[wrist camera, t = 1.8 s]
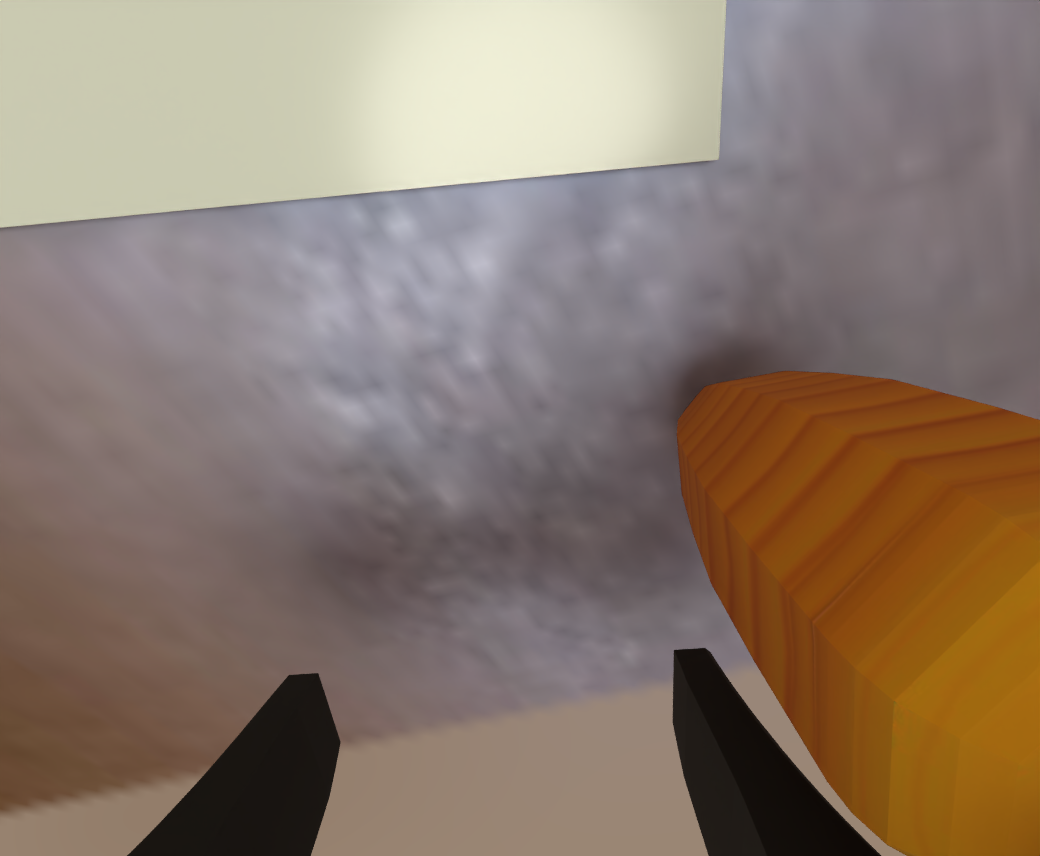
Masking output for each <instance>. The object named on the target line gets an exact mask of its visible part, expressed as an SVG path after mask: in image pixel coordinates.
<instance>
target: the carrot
mask: <svg viewBox="0 0 1040 856" xmlns="http://www.w3.org/2000/svg"><path fill="white" fill-rule="evenodd" d="M677 443H678V455H679V467H680V478H681V490H682V496H683V499H684V503H685V507H686V510H687V514H688V517H689V521H690V524H691V528H692V531H693V535H694V537H695V540H696V543H697V546H698V548H699V551H700V554H701V557H702V559H703V562H704V565H705V568H706V571H707V573H708V576H709V579H710V582H711V584H712V586H713V588H714V590H715V591H716V593H717V595H718V597H719V599H720V600H721V602H722V604H723V606H724V608H725V609H726V611H727V613H728V615H729V617H730V618H731V620H732V622H733V624H734V626H735V627H736V629H737V631H738V633H739V635H740V636H741V638H742V640H743V642H744V644H745V645H746V647H747V649H748V651H749V653H750V654H751V656H752V658H753V660H754V662H755V663H756V665H757V667H758V668H759V670H760V671H761V673H762V675H763V676H764V678H765V679H766V681H767V683H768V685H769V686H770V688H771V690H772V691H773V693H774V694H775V696H776V698H777V699H778V701H779V703H780V704H781V706H782V708H783V709H784V711H785V713H786V714H787V716H788V718H789V719H790V721H791V723H792V724H793V726H794V728H795V729H796V731H797V732H798V734H799V736H800V737H801V739H802V741H803V742H804V744H805V746H806V747H807V749H808V751H809V752H810V754H811V756H812V757H813V759H814V760H815V762H816V764H817V765H818V767H819V769H820V770H821V772H822V773H823V775H824V777H825V779H826V780H827V782H828V783H829V784H830V786H831V787H832V788H833V790H834V791H835V792H836V793H837V795H838V796H839V797H840V798H841V800H842V801H843V802H844V803H845V805H846V806H847V807H848V809H849V810H850V811H851V812H852V813H853V814H854V815H855V816H856V817H857V818H858V819H859V820H860V821H861V822H862V823H864V824H865V825H866V826H867V827H868V828H869V829H870V830H871V831H872V832H873V833H875V834H876V835H877V836H878V837H879V838H880V839H881V840H882V841H883V842H884V843H886V844H887V845H888V846H890V847H892V848H894V849H896V850H898V851H899V852H901V853H903V854H905V855H907V856H1040V420H1038V419H1034V418H1031V417H1028V416H1024V415H1021V414H1018V413H1014V412H1011V411H1008V410H1005V409H1001V408H998V407H994V406H991V405H987V404H983V403H979V402H976V401H972V400H968V399H964V398H960V397H957V396H953V395H949V394H945V393H942V392H938V391H934V390H930V389H926V388H923V387H919V386H915V385H911V384H908V383H904V382H900V381H896V380H892V379H883V378H874V377H865V376H855V375H846V374H837V373H821V372H798V371H781V372H776V373H770V374H765V375H759V376H754V377H748V378H743V379H737V380H732V381H726V382H721V383H716V384H712V385H708V386H705V387H704V388H703V389H702V390H701V391H700V392H699V394H698V395H697V396H696V397H695V398H694V400H693V401H692V402H691V403H690V405H689V406H688V407H687V408H686V409H685V411H684V412H683V414H682V415H681V416H680V418H679V419H678V426H677Z"/></svg>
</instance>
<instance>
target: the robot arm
mask: <svg viewBox="0 0 1040 856" xmlns="http://www.w3.org/2000/svg"><path fill="white" fill-rule="evenodd" d="M673 725H674V731H675V736H676V741H677V746H678V751H679V755H680V760H681V765H682V769H683V774H684V778H685V781H686V785H687V788H688V791H689V794H690V798H691V801H692V804H693V807H694V810H695V813H696V817H697V820H698V823H699V826H700V830H701V833H702V836H703V839H704V842H705V846H706V849H707V852H708V855H709V856H881V855H880V854H879V853H878V852H877V851H876V850H875V849H874V848H873V847H872V846H871V845H870V844H869V843H868V842H867V841H866V840H865V839H864V838H863V837H862V836H861V835H860V834H859V833H858V832H857V831H856V830H855V829H854V828H853V827H852V826H851V825H850V824H849V823H848V822H847V821H845V819H844V818H843V817H842V816H841V815H840V814H839V813H838V812H837V811H836V810H835V809H834V808H833V807H832V805H831V804H830V803H829V802H828V801H827V800H826V799H825V798H824V797H823V796H822V795H821V794H820V793H819V792H818V790H817V789H816V788H815V787H814V786H813V785H812V784H811V782H810V781H809V780H808V779H807V778H806V777H805V776H804V775H803V773H802V772H801V771H800V770H799V769H798V768H797V767H796V765H795V764H794V763H793V762H792V761H791V759H790V758H789V757H788V756H787V755H786V754H785V752H784V751H783V750H782V749H781V748H780V746H779V745H778V744H777V743H776V741H775V740H774V739H773V738H772V736H771V735H770V734H769V733H768V731H767V730H766V729H765V728H764V726H763V725H762V724H761V723H760V721H759V720H758V719H757V718H756V716H755V715H754V714H753V713H752V711H751V710H750V708H748V706H747V705H746V703H745V702H744V700H743V699H742V698H741V696H740V695H739V694H738V692H737V691H736V689H735V688H734V687H733V685H732V684H731V682H730V681H729V680H728V678H727V677H726V675H725V674H724V672H723V671H722V669H721V668H720V666H719V665H718V663H717V662H716V660H715V659H714V657H713V656H712V654H711V652H709V651H708V650H707V649H706V648H698V649H682V650H674V678H673ZM339 747H340V739H339V736H338V733H337V730H336V727H335V724H334V721H333V717H332V714H331V711H330V708H329V705H328V702H327V699H326V696H325V693H324V690H323V687H322V684H321V680H320V677H319V674H318V673H314V674H299V675H289V676H288V677H287V678H286V679H285V680H284V682H283V683H282V684H281V685H280V686H279V687H278V689H277V690H276V691H275V692H274V693H273V694H272V696H271V697H270V698H269V699H268V700H267V702H266V703H265V704H264V705H263V706H262V708H261V709H260V710H259V711H258V712H257V714H256V715H255V716H254V717H253V718H252V720H251V721H250V722H249V723H248V724H247V726H246V727H245V728H244V729H243V730H242V732H241V733H240V734H239V735H238V736H237V738H236V739H235V740H234V741H233V742H232V743H231V745H230V746H229V747H228V748H227V749H226V750H225V751H224V753H223V754H222V755H221V756H220V757H219V758H218V760H217V761H216V762H215V763H214V764H213V765H212V767H211V768H210V769H209V770H208V771H207V772H206V773H205V775H204V776H203V777H202V778H201V779H200V780H199V781H198V782H197V784H196V785H195V786H194V787H193V788H192V789H191V790H190V791H189V792H188V793H187V795H185V796H184V798H183V799H182V800H181V801H180V802H179V803H178V804H177V805H176V806H175V807H174V808H173V809H172V811H171V812H170V813H169V814H168V815H167V816H166V817H165V818H164V819H163V820H162V821H161V822H160V823H159V824H158V825H157V826H156V827H155V828H154V830H152V831H151V833H150V834H149V835H148V836H147V837H146V838H145V839H144V840H143V841H142V842H141V843H140V844H139V845H138V846H137V847H136V848H135V849H134V850H133V851H132V852H131V853H130V854H128V855H127V856H311V853H312V850H313V847H314V844H315V841H316V838H317V834H318V831H319V828H320V825H321V822H322V818H323V816H324V812H325V809H326V806H327V803H328V800H329V796H330V792H331V787H332V782H333V777H334V773H335V768H336V762H337V758H338V753H339Z"/></svg>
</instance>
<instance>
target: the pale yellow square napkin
mask: <svg viewBox="0 0 1040 856" xmlns="http://www.w3.org/2000/svg"><path fill="white" fill-rule="evenodd" d="M725 17H726V0H0V228H1V227H12V226H22V225H33V224H43V223H54V222H64V221H75V220H86V219H96V218H107V217H117V216H128V215H138V214H149V213H159V212H170V211H181V210H191V209H202V208H212V207H223V206H233V205H244V204H255V203H265V202H276V201H286V200H297V199H307V198H318V197H328V196H339V195H350V194H360V193H371V192H381V191H392V190H402V189H413V188H423V187H434V186H445V185H455V184H466V183H476V182H487V181H497V180H508V179H519V178H529V177H540V176H550V175H561V174H571V173H582V172H592V171H603V170H614V169H624V168H635V167H645V166H656V165H666V164H677V163H687V162H698V161H709V160H719V144H720V123H721V102H722V81H723V59H724V38H725Z"/></svg>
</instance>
